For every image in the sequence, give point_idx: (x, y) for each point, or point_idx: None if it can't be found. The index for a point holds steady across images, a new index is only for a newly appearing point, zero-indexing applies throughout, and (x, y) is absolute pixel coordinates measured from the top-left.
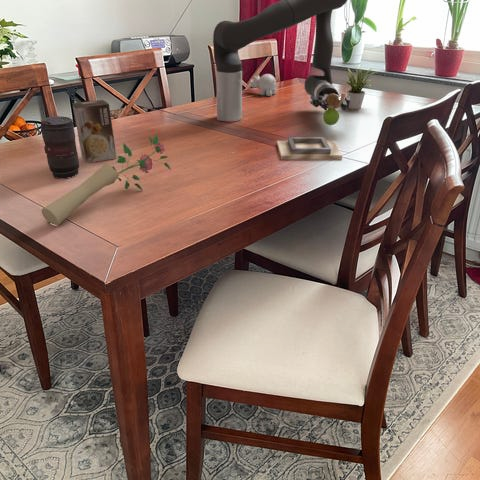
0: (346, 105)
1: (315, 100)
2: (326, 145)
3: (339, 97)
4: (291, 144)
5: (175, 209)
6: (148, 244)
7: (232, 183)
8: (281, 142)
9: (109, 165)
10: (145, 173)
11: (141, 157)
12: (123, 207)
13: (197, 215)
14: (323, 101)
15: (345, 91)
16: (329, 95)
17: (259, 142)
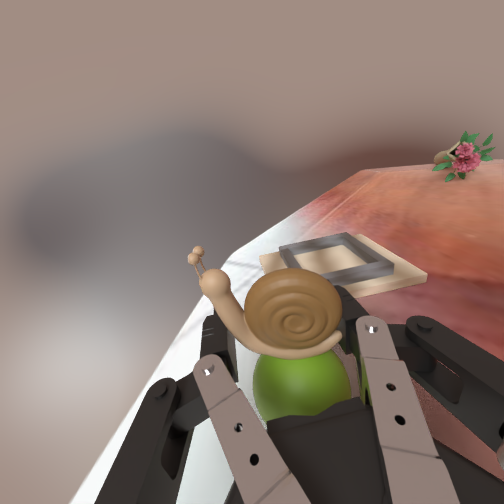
0: (209, 319)
1: (434, 326)
2: (288, 254)
3: (232, 399)
4: (359, 242)
5: (386, 183)
6: (367, 175)
7: (376, 202)
8: (406, 268)
9: (457, 143)
10: (462, 172)
11: (477, 156)
12: (426, 176)
13: (364, 185)
14: (358, 318)
15: (199, 255)
16: (313, 274)
17: (486, 281)
